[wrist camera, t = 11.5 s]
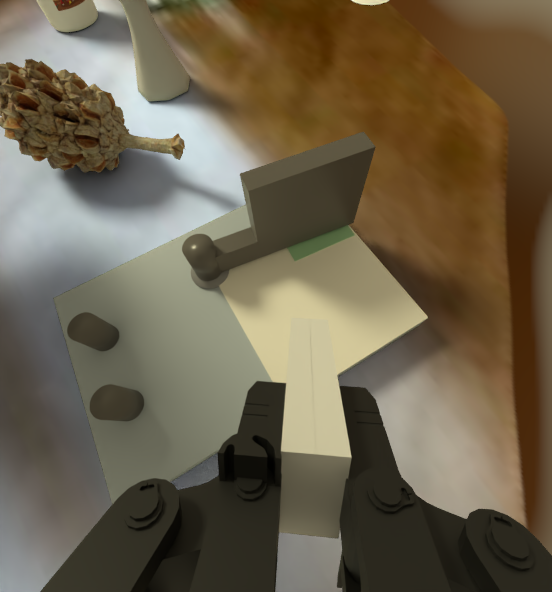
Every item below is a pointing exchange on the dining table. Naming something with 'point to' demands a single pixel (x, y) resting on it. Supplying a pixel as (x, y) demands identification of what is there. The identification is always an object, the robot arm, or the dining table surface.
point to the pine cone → (67, 119)
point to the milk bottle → (69, 13)
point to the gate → (289, 205)
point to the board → (213, 341)
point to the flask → (153, 56)
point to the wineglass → (370, 2)
